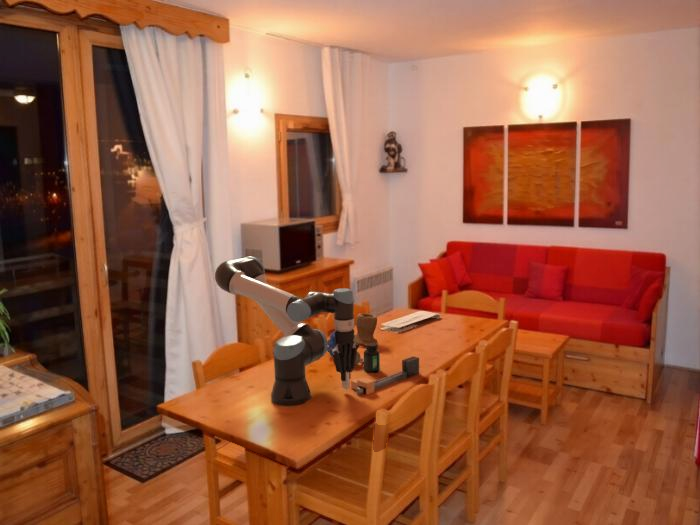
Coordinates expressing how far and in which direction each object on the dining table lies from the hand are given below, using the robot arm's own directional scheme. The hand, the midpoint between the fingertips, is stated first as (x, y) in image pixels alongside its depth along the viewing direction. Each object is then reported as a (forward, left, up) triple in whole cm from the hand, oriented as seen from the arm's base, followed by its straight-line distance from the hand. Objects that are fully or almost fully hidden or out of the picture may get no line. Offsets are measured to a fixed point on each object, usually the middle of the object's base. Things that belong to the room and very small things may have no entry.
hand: (346, 387), depth 233 cm
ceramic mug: (+26, +25, -3) cm, 36 cm away
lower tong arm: (+21, -6, -2) cm, 22 cm away
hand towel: (+95, +50, -3) cm, 107 cm away
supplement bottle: (+25, +11, -3) cm, 28 cm away
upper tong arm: (+19, -4, -2) cm, 20 cm away
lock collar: (+6, -3, -2) cm, 7 cm away
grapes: (+29, +40, -3) cm, 50 cm away
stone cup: (+51, +43, -3) cm, 67 cm away
